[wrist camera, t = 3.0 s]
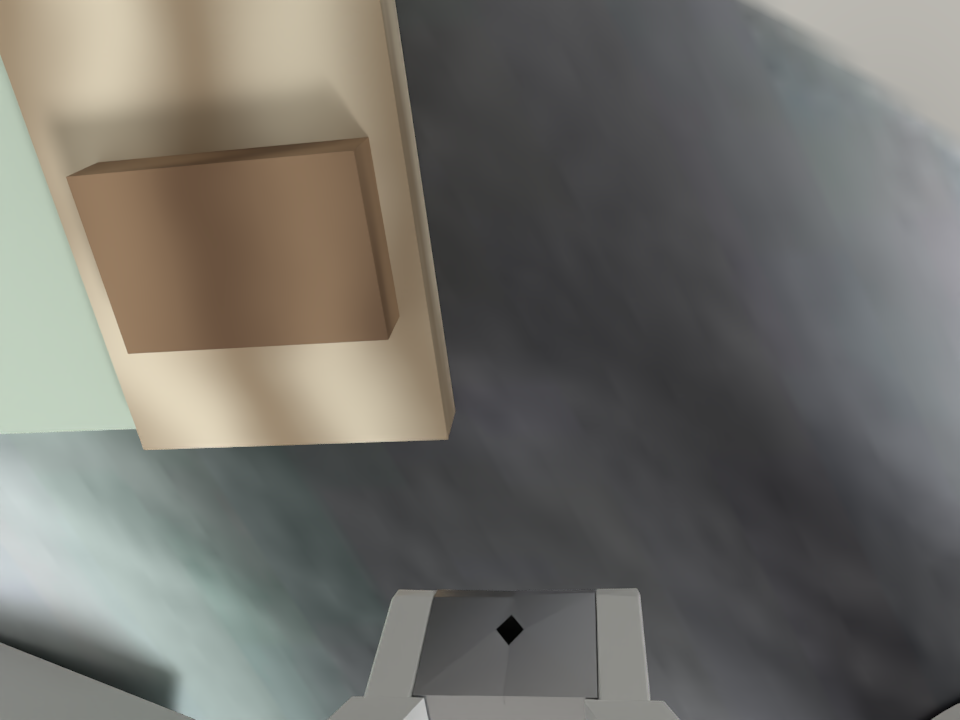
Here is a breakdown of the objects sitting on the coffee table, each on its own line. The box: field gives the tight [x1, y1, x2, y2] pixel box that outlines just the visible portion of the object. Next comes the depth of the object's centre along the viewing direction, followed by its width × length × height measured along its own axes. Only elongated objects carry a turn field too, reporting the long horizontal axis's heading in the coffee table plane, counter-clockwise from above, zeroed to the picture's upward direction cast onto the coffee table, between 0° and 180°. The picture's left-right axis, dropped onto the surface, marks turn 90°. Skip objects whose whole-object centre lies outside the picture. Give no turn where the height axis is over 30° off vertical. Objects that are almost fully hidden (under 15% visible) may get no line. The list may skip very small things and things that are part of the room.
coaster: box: [66, 137, 400, 354], centre depth 25 cm, size 9×6×2 cm, turn 96°
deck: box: [0, 0, 455, 450], centre depth 27 cm, size 12×16×2 cm
